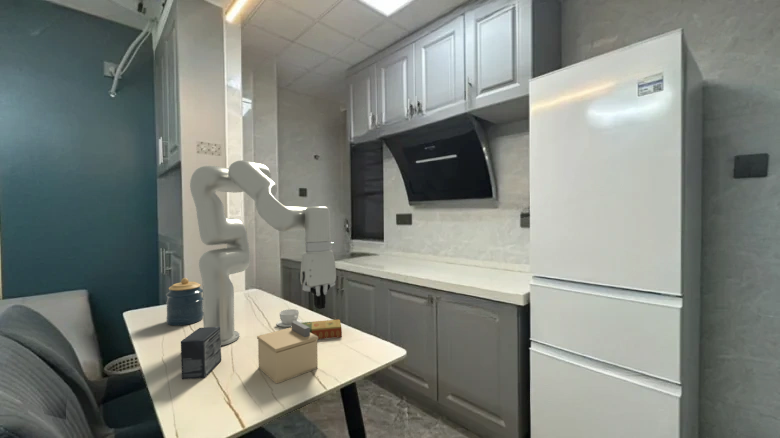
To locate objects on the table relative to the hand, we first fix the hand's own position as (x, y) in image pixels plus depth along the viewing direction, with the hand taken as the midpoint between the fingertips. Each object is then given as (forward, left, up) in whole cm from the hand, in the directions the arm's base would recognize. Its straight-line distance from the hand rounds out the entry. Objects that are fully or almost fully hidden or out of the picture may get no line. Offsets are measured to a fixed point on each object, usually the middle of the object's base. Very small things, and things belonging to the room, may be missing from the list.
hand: (319, 307), depth 100 cm
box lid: (0, -10, -7) cm, 12 cm away
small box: (-16, -28, -16) cm, 36 cm away
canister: (-68, -22, -16) cm, 74 cm away
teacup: (-36, +8, -16) cm, 40 cm away
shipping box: (0, -10, -15) cm, 18 cm away
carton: (-17, +9, -16) cm, 25 cm away
